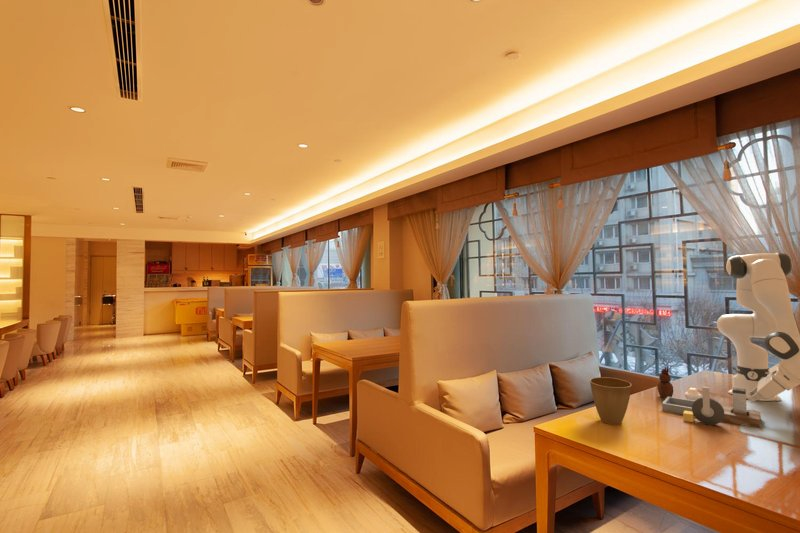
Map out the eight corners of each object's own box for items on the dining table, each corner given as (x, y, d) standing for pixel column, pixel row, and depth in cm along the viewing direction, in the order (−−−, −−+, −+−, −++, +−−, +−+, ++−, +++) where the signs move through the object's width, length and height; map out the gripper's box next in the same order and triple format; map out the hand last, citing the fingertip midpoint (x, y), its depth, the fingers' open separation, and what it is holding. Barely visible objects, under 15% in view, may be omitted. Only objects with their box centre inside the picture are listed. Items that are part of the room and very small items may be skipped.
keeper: (722, 412, 170) (722, 405, 170) (760, 419, 162) (760, 411, 162) (719, 420, 162) (719, 413, 162) (759, 427, 153) (759, 419, 153)
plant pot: (582, 418, 166) (581, 379, 166) (608, 413, 172) (607, 375, 172) (614, 431, 152) (613, 388, 153) (641, 425, 158) (640, 384, 158)
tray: (668, 403, 184) (667, 396, 184) (703, 409, 175) (703, 402, 175) (662, 410, 174) (662, 403, 174) (699, 417, 166) (699, 409, 166)
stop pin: (734, 417, 165) (733, 387, 165) (747, 419, 162) (745, 389, 162) (733, 420, 162) (732, 389, 162) (746, 422, 159) (745, 391, 159)
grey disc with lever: (685, 417, 165) (683, 380, 166) (725, 425, 156) (723, 386, 157) (682, 422, 160) (681, 384, 161) (723, 430, 152) (722, 389, 152)
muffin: (699, 406, 179) (699, 390, 179) (683, 403, 184) (682, 387, 184) (703, 403, 183) (702, 387, 184) (687, 400, 188) (686, 385, 188)
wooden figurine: (675, 399, 189) (674, 367, 189) (662, 399, 190) (660, 367, 190) (669, 395, 195) (668, 364, 196) (655, 395, 196) (654, 364, 197)
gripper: (774, 365, 163) (744, 385, 169) (775, 374, 148) (741, 396, 154) (790, 378, 159) (758, 398, 166) (792, 389, 144) (757, 411, 151)
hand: (750, 397), depth 160 cm, fingers open, 8 cm apart
